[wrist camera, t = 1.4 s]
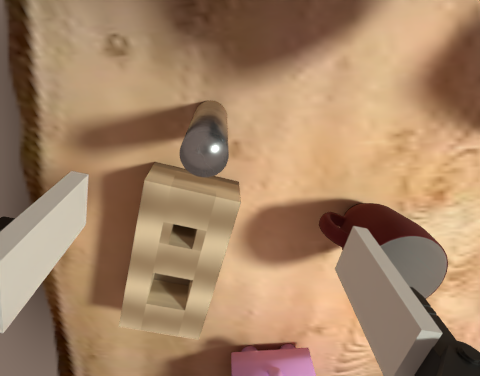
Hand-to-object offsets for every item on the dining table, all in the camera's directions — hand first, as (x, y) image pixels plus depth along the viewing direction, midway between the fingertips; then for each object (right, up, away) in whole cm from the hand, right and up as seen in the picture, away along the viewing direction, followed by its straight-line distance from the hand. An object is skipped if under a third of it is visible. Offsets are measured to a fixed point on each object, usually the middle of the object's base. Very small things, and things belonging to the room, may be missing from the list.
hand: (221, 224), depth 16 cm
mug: (+14, -1, +22) cm, 26 cm away
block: (-6, -4, +22) cm, 23 cm away
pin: (-2, +9, +16) cm, 19 cm away
